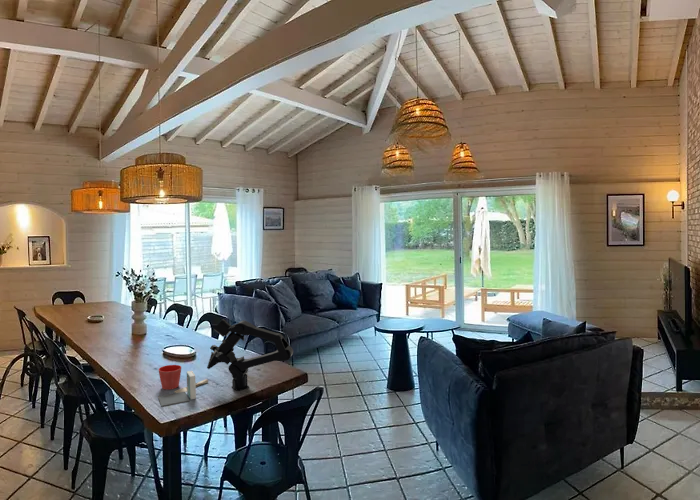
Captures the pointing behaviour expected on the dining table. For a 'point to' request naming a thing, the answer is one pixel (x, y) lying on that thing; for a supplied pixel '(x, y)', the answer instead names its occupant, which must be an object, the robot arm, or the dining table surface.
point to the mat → (173, 399)
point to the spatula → (196, 386)
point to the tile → (191, 385)
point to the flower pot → (170, 376)
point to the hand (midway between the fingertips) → (207, 368)
